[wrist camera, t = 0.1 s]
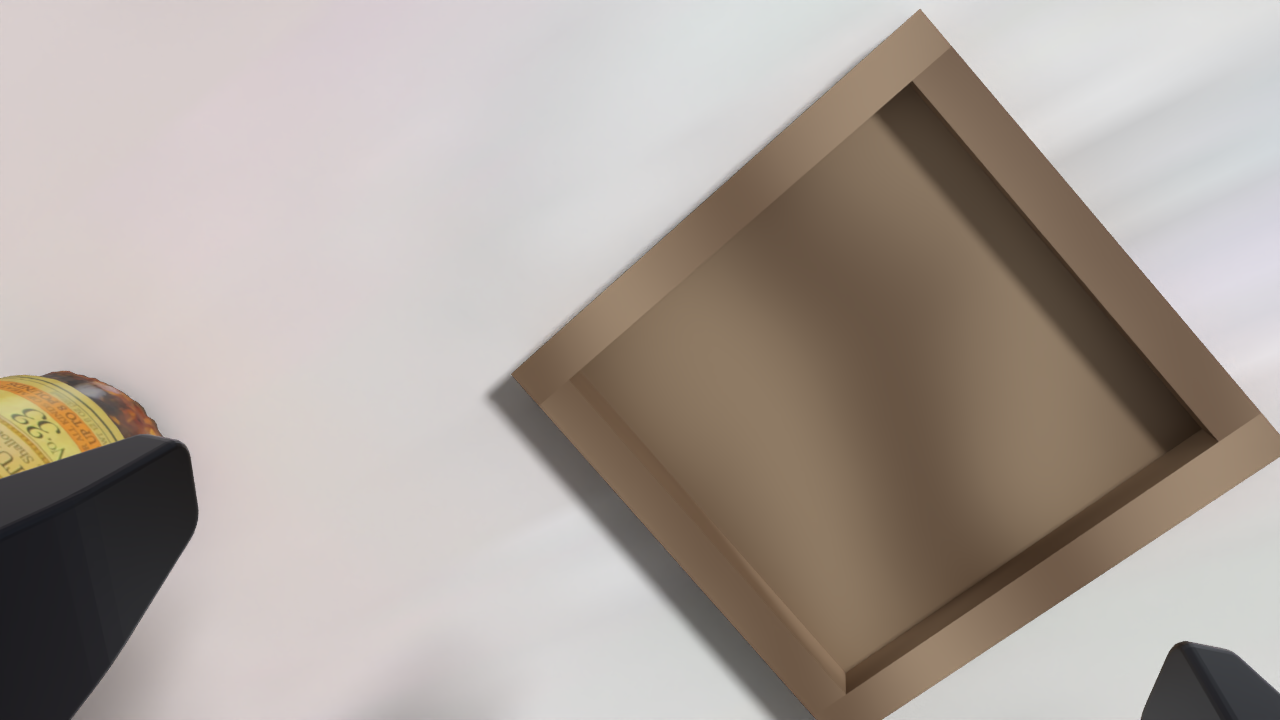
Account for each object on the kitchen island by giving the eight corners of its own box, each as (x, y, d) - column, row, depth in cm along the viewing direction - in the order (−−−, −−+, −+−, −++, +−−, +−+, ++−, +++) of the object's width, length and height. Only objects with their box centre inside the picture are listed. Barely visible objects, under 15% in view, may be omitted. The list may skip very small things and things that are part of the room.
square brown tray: (839, 712, 26) (840, 747, 24) (529, 360, 25) (510, 374, 24) (1262, 429, 22) (1291, 448, 21) (914, 17, 22) (920, 8, 21)
